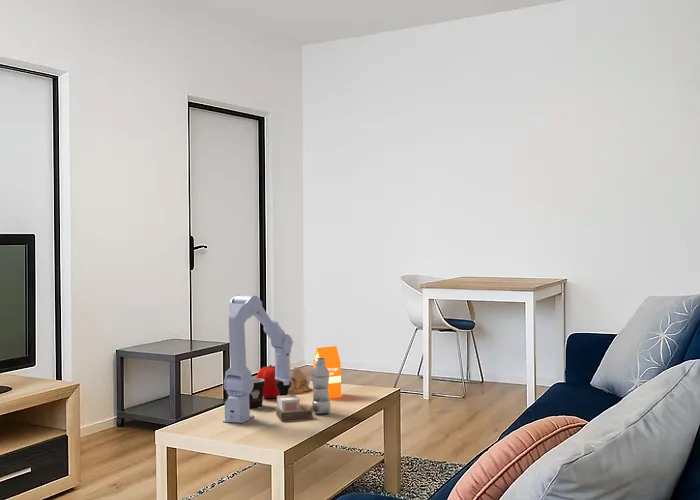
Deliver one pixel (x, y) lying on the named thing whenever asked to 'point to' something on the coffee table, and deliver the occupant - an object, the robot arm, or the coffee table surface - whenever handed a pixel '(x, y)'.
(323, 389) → the plastic bottle
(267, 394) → the red bell pepper
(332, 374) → the orange juice
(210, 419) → the coffee table surface
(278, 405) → the carton
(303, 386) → the ceramic model
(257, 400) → the coffee mug
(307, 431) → the coffee table surface
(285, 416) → the display stand
